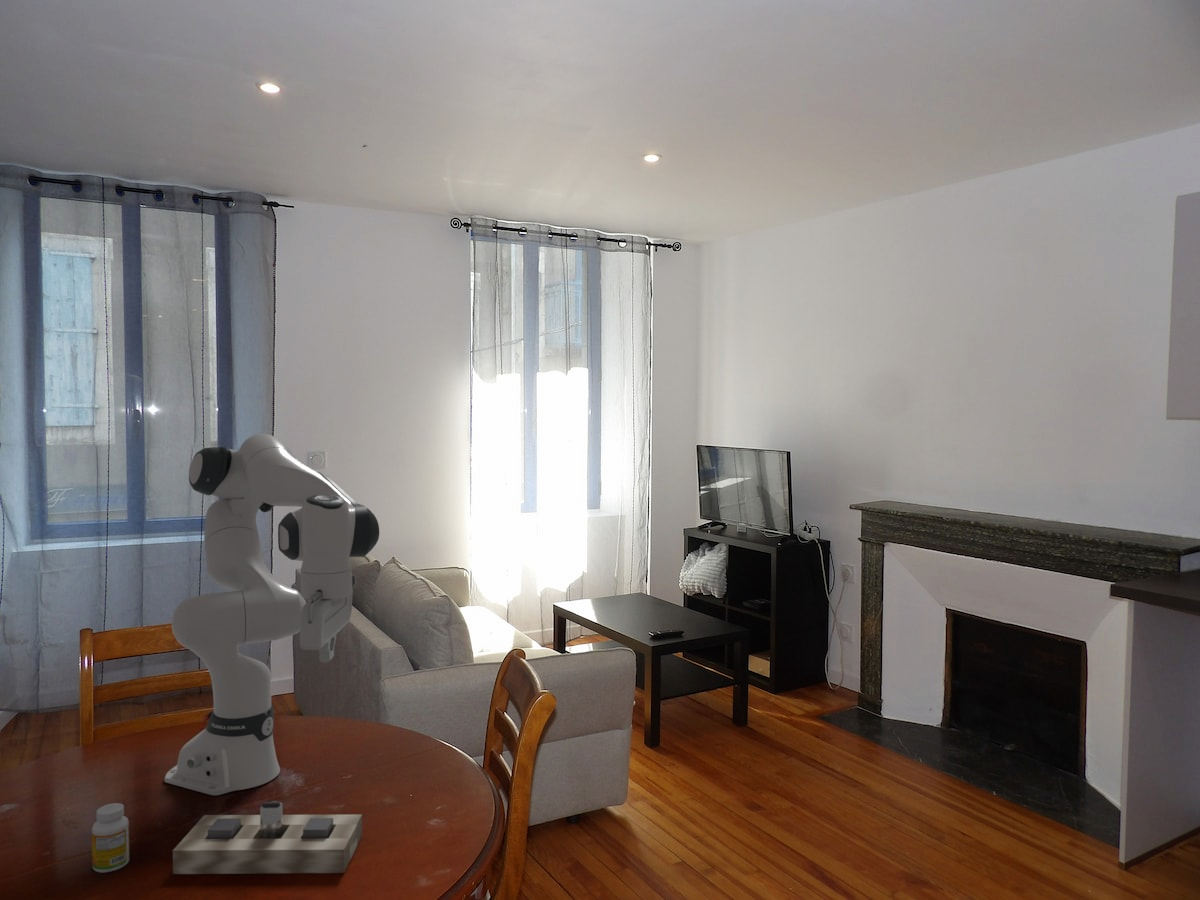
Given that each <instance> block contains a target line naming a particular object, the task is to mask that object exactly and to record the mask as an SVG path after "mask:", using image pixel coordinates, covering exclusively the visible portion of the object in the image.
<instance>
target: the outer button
mask: <svg viewBox="0 0 1200 900" xmlns="http://www.w3.org/2000/svg"><path fill="white" fill-rule="evenodd" d="M332 831H333V818H310V819H309V821H308V823H307V824H306V826H305V827H304V829H303V839H325V838H329V837H330V835H331V833H332Z"/></svg>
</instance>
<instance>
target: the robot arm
mask: <svg viewBox="0 0 1200 900" xmlns="http://www.w3.org/2000/svg"><path fill="white" fill-rule="evenodd" d="M188 481H189V484H190V486H191V488H192V489H193V491H196V492H198V493H199V494H202V495H205V496H214V497H217V498H220V499H217V500H215V501H214V502H213V503H211V504H210V506H209V507H208V508H207V510H206V515H205V521H204V522H205V523H204V531H203V533H204V535H203V536H204V538H203V539H204V548H205V549H204V550H205V559H206V569H207V573H208V576H209V577H210V578H211V580H212V581H213V582H214V583H215V584H216V585H218V586H220V587H221V588H224V589H227V590H229V591H223V592H214V593H213V592H212V593H211V592H210V593H205V594H201V595H197V596H193V597H190V598H187V599H183V600H182V601H181V602H180V603H179V604H178V606H177V607H176V608H175V610H174V612H173V615H172V618H171V630H172V634H173V635H174V637H175V639H176V641H177V642H178V643H179V644H180V645H181V646H183V647H184V648H185V649H187V650H189V651H191V652H192V653H194V654H195V655H196V656H197V657H199V658H200V660H201V661H202V662H203V664H204V665H205V666H206V668H207V671H208V672H209V676H210V679H211V680H210V681H211V686H212V687H211V688H212V697H213V698H212V700H213V709H212V710H210V711H209V712H208V713H207V714H205V715H203V716H201V718H202V720H201V723H204V722H206V721H207V725H206V726H205V728H204V729H203V730H202V731H200V732H199V733H198V734H197V735H195V736H194V737H193V738H191V739H190V740H189V741H188V742H186V743H185V744H184V745H183V747H181V749H180V751H179V753H178V758H177V764H176V765H175V766H173V767H172V768H171V769H170V770H169V771H167V773H166V774H165V776H164V783H167V784H170V785H173V786H177V787H182V788H185V789H188V790H192V791H195V792H200V793H202V794H206V795H209V796H210V795H211V796H220V795H224V794H227V793H230V792H235V791H242V790H246V789H251V788H256V787H259V786H262V785H264V784H267V783H270V782H271V781H272V780H273V779H275V778H276V777H277V776H278V775H280V772H281V767H280V765H279V762H278V758H277V754H276V753H277V752H276V748H275V744H274V742H275V741H274V735H273V734H274V733H273V732H274V726H275V725H274V724H275V720H274V718H275V717H274V714H275V713H274V705H273V703H272V674H271V671H270V669H269V666H267V664H265V663H264V662H263V661H260V660H258V659H256V658H252V657H249V656H246V655H243V654H242V653H240V651H239V647H240V646H243V645H248V644H254V643H263V642H269V641H270V642H271V641H278V640H281V639H285V638H288V637H291V636H294V635H296V634H299V646H300V648H301V649H302V650H307V651H308V650H309V651H310V650H312V651H314V650H315V651H316V650H318V653H319V655H318V656H319V662H320V663H329V662H330V661H331V660H332V659H333V657H334V656H335V645H336V641H337V634H338V633H339V632H340V631H341V630H342V629H343V628H344V627H345V626H346V625H347V624H348V623H349V622H350V620H351V617H352V612H353V611H352V610H353V608H352V606H353V594H354V591H353V588H354V587H355V586H356V582H357V581H356V575H355V574H354V573H353V572H352V568H353V567H352V563H351V559H350V558H364V557H366V556H367V555H368V554H369V553H370V552H371V551H372V550H373V549H374V548H375V546H376V545H377V543H378V541H379V538H380V526H379V522H378V519H377V517H376V516H375V514H374V513H373V512H372V511H371V510H370V508H368V507H367V506H365V505H364V504H360V503H358V502H357V501H355V500H354V499H353V498H352V497H351V496H350V495H348V494H347V492H346V491H345V490H343V489H342V487H340V486H339V485H338V484H337V483H336V482H334V481H333V480H332V479H331V478H329V477H328V476H327V475H325V474H323V473H321V472H319V471H316V470H315V469H313V468H311V467H310V466H308V465H306V464H304V463H303V462H302V461H300V460H299V459H298V458H297V457H296V455H294V454H293V452H292V451H291V450H290V449H289V447H288V446H287V445H286V444H285V443H283V442H282V441H281V440H280V439H278V438H277V437H276V436H273V435H271V434H267V433H257V434H253V435H251V436H249V437H247V438H246V439H245V440H244V441H243V442H242V444H241V445H240V447H239V449H238V450H237V449H232V448H231V449H230V448H227V446H220V447H219V446H217V447H216V446H213V447H211V446H210V447H205V448H203V449H200V450H198V451H197V452H195V454H194V456H193V458H192V460H191V462H190V465H189V470H188ZM274 507H297V508H298V507H301V508H299V509H297V510H294V511H290V512H288V513H286V515H285V516H284V517H283V518H282V519H281V521H280V522H279V523H278V528H277V531H278V532H277V540H278V541H277V542H278V543H277V544H278V545H277V546H278V550H279V551H280V552H281V554H283V555H284V556H285V557H286V558H288V559H289V560H291V561H299V562H301V563H302V564H301V567H300V592H299V591H298V589H295V588H293V587H290V586H288V585H286V584H284V583H283V582H281V580H279V579H278V578H277V577H276V576H274V575H273V574H272V572H271V571H270V570H269V568H268V567H267V565H266V563H265V560H264V555H263V553H262V552H263V551H262V548H261V542H260V541H261V540H260V535H259V530H258V526H257V514H258V511H259V510H260V512H262V513H268V512H270V511H271V510H273V508H274ZM305 599H307V602H306V600H305Z"/></svg>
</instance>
